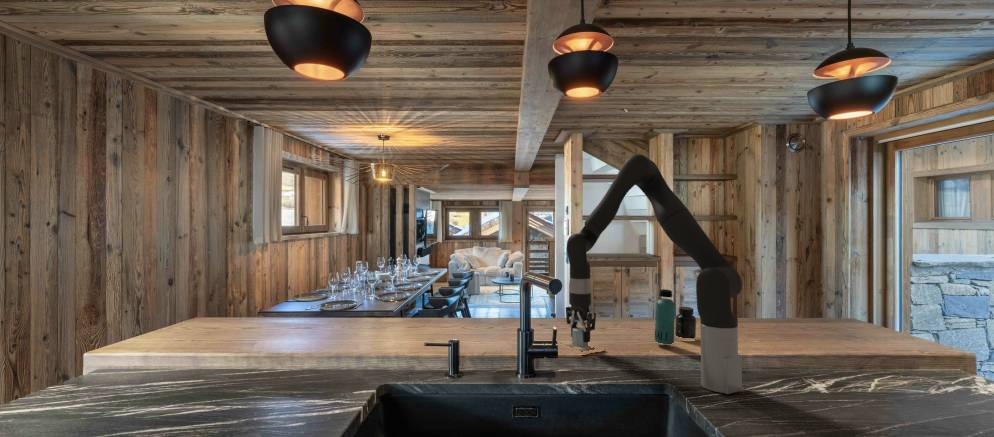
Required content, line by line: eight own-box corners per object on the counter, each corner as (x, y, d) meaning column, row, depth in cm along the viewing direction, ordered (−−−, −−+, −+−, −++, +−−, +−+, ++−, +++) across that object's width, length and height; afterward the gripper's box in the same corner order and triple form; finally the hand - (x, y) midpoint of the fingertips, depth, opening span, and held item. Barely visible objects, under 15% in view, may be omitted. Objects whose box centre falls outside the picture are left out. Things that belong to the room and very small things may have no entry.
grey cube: (591, 345, 151) (591, 329, 151) (579, 347, 149) (578, 331, 149) (581, 341, 156) (581, 326, 156) (569, 343, 154) (569, 328, 154)
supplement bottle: (671, 338, 164) (672, 306, 163) (686, 336, 166) (687, 305, 166) (683, 344, 158) (685, 311, 157) (699, 342, 160) (700, 309, 159)
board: (605, 351, 149) (605, 336, 149) (581, 356, 144) (581, 340, 144) (582, 343, 159) (582, 329, 159) (560, 347, 155) (559, 332, 155)
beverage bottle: (671, 343, 157) (672, 288, 156) (676, 350, 151) (678, 292, 149) (652, 342, 158) (653, 287, 157) (656, 349, 151) (658, 291, 150)
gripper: (602, 293, 148) (602, 343, 148) (575, 287, 161) (576, 334, 161) (584, 294, 145) (585, 346, 144) (559, 289, 157) (559, 336, 157)
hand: (580, 339), depth 153 cm, fingers open, 6 cm apart
